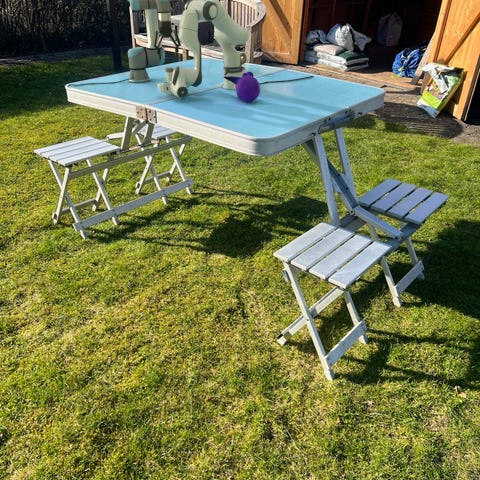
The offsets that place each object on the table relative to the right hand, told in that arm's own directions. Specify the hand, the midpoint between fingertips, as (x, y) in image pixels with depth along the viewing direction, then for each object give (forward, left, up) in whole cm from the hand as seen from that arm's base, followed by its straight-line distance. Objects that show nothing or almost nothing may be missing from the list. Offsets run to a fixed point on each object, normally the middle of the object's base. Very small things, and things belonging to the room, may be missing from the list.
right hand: (170, 83), depth 297 cm
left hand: (0, +1, +15) cm, 16 cm away
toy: (-36, +39, -7) cm, 54 cm away
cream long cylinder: (0, +1, -7) cm, 7 cm away
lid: (0, +1, +9) cm, 10 cm away
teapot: (-70, -60, -7) cm, 93 cm away
